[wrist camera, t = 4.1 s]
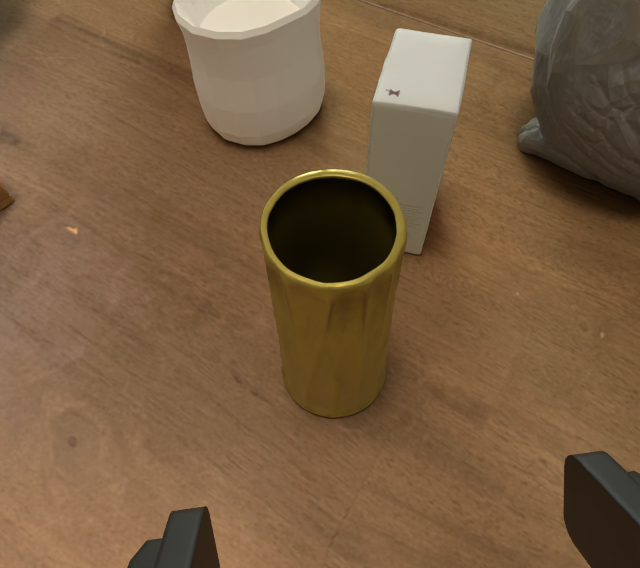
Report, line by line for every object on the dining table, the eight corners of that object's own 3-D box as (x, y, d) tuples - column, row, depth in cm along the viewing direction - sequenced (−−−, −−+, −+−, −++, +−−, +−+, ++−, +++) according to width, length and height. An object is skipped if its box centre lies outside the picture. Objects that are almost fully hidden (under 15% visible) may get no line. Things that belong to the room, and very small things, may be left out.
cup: (339, 79, 43) (340, -43, 34) (298, 164, 38) (287, 48, 30) (236, 57, 45) (212, -64, 36) (185, 137, 40) (144, 19, 32)
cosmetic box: (422, 257, 34) (459, 116, 24) (359, 244, 35) (368, 102, 24) (436, 188, 37) (475, 36, 26) (378, 177, 37) (393, 24, 27)
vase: (319, 440, 28) (306, 334, 16) (263, 354, 31) (214, 205, 18) (406, 380, 30) (457, 242, 17) (346, 303, 32) (352, 135, 20)
